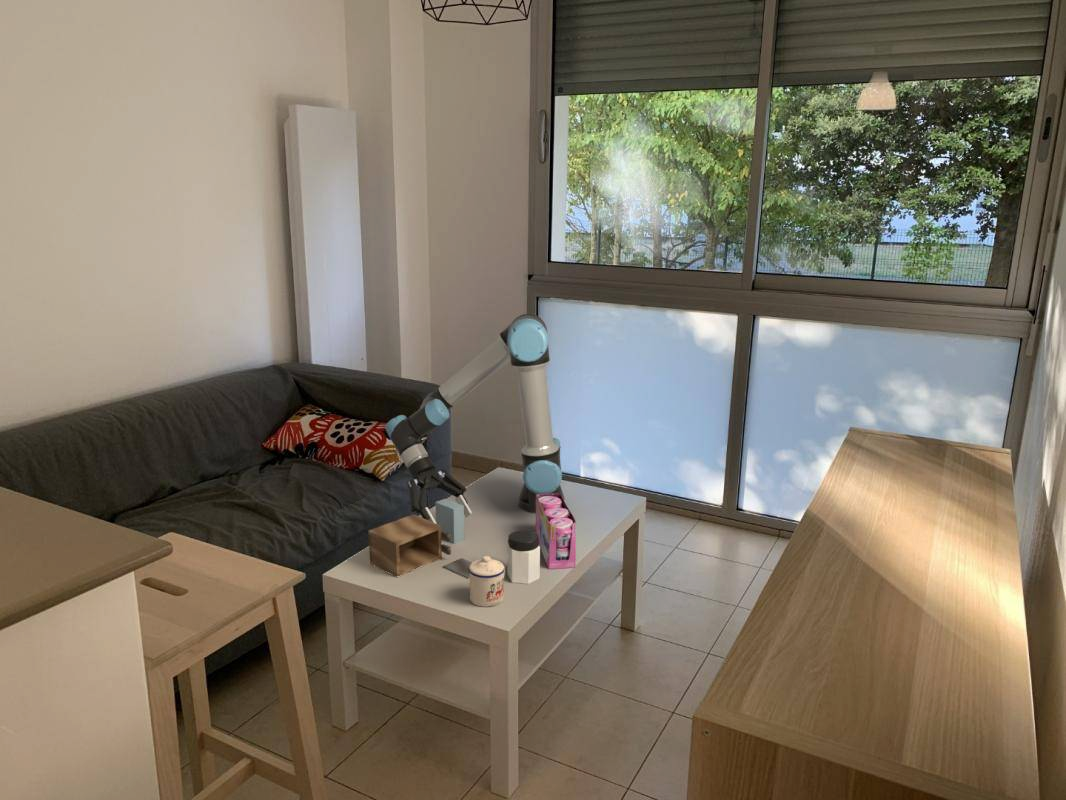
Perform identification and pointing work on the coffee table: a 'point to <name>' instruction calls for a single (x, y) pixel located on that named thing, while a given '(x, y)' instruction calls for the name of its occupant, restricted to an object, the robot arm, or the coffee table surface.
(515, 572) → the jar
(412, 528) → the cabinet
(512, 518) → the coffee table surface
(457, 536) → the door panel
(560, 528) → the gum box
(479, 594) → the teacup with lid
